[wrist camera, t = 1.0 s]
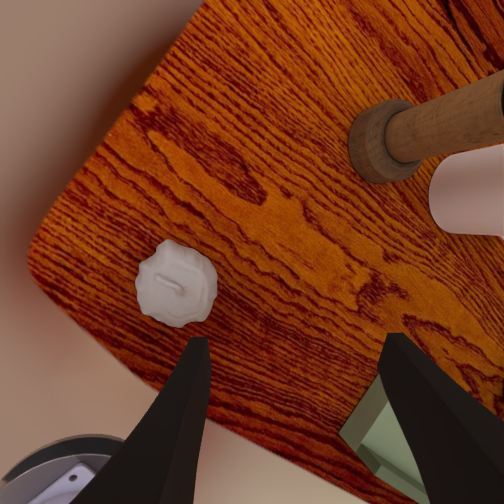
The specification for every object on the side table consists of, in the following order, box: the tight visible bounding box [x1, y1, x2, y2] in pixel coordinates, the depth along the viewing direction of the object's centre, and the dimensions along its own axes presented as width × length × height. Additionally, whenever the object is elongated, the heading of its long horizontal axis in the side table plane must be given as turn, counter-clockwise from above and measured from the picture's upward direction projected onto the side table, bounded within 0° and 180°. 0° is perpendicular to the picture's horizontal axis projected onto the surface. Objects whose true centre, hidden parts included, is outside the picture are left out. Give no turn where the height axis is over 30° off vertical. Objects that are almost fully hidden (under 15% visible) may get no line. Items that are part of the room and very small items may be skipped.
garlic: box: [135, 239, 218, 328], centre depth 19 cm, size 6×5×5 cm
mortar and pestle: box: [348, 70, 504, 183], centre depth 18 cm, size 7×6×18 cm
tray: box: [339, 374, 430, 504], centre depth 31 cm, size 28×9×5 cm, turn 50°
